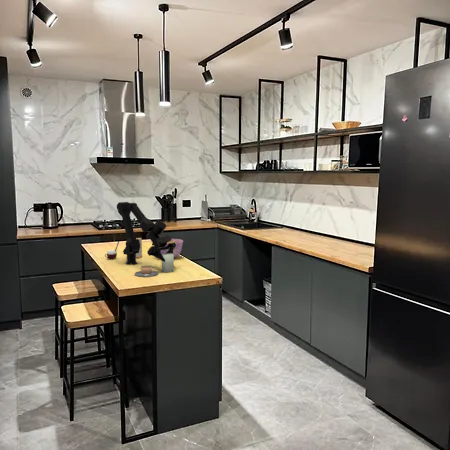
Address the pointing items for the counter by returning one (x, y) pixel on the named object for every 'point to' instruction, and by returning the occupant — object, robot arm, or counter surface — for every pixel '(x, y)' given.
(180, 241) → the bowl of food
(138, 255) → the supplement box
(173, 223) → the counter surface
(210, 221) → the counter surface
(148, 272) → the cup on gray saucer
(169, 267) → the white cylinder
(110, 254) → the cocoa
